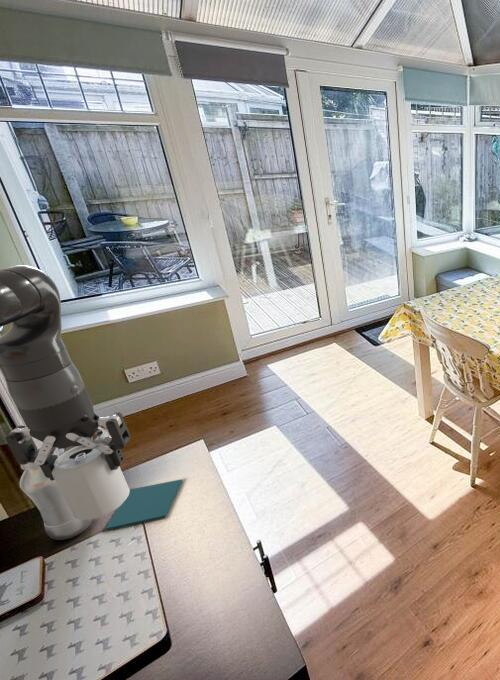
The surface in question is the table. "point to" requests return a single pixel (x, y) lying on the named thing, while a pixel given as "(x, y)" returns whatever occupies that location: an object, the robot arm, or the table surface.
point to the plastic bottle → (51, 504)
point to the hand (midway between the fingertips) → (87, 471)
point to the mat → (145, 504)
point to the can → (89, 483)
